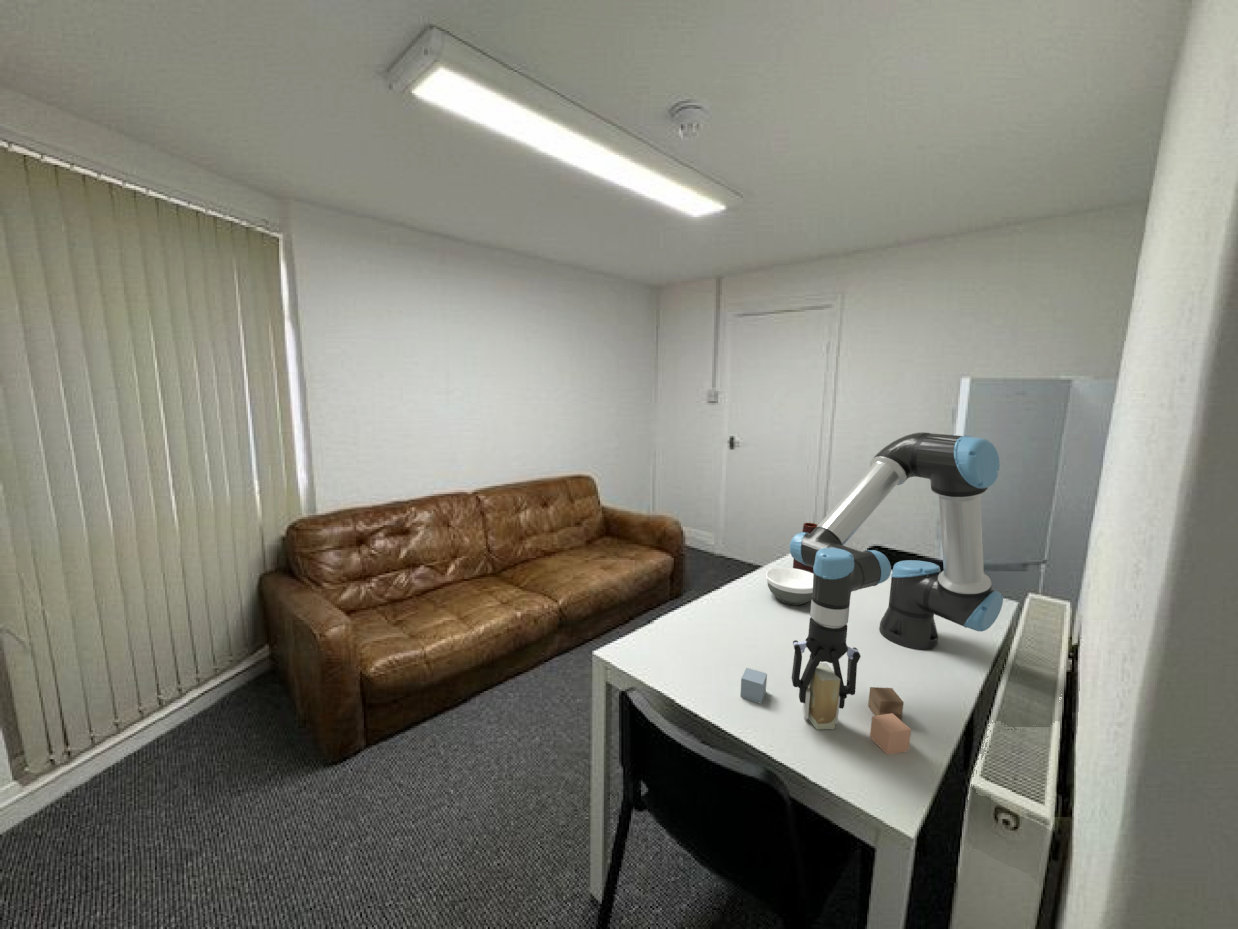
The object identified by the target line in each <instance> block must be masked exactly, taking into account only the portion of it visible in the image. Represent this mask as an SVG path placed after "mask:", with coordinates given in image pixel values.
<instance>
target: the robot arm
mask: <svg viewBox="0 0 1238 929" xmlns="http://www.w3.org/2000/svg"><path fill="white" fill-rule="evenodd" d="M998 471H1000V457H999V453H998V450H997V448H996V446H994V444H993V443H992V442H990V441H989V440H988V439H985V438H981V437H974V436H972V435H953V434H943V433H932V432H931V433H930V432H915V433H910V434H907V435H904V436H902V437H900V438H898V439H896V440H894V441H892V442H891V443H889V444H887V445H886V446H884V447H883V448H882V449H880V450H879V452H878V453H876V454H875V455H874V457H873V458H872V459H871V460H870V462H869V468H868V469H867V470H866V471H865V473H864V474H863V475H862V476H861V477H859V479H858V480H857V481H856V482H855V484H853V486H852V487H851V488H850V489H849V490H848V491H847V493H846V494H845V495H844V496H843V497H842V498H841V499H840V500H839V501H838V502H837V503H836V505H835V506H834V507H833V508H832V509H831V510H830V511H829V512H828V513H827V515H826V516H825V517H824V518H823V519H822V520H821V521H820V522H819V523H818V524H817V525H818V526H817V527H816V528H815V529H814V530H813V531H812V532H811V533H810V534H809V533H805V532H802V531H801V532H799V533H796V534H795V535H794V536H792V538H791V540H790V543H789V553H790V556H791V557H792V559H793V560H794V559H795V560H797V561H799V562H801V563H802V564H804V565H806V566H810V567H813V571H814V574H813V592H812V600H811V602H810V613H809V616H810V617H809V623H808V624H809V625H808V635H807V637H806V638H805V641H804V640H803V641H798V640H796V639H795V640H793V641H792V645H793V649H794V653H793V654H794V655H793V663H792V671H791V681H792V687H794V688H798V689H799V690H798V691H799V692H798V699H799V702H800V703H802V714H803V718H804V720H808V719H809V718H808V713H809V702H810V690H809V684H810V681H811V679H812V677H813V674H814V672H815V670H816V668H817V666H818V665H819V663H829V664H832V670H833V671H834V672H835V675H836V676H838V677H839V678H840V687H839V696H838V705H837V713H836V722H835V725H838V724H839V714H840V713H839V712H840V710H841V709H842V710H843V709H844V707H845V704H846V703H845V701H846V698H848V695H850V696H855V695H856V684H857V669H858V663H859V661H860V659H861V653H860V652H859V649H858V648H857V647H854V646H853V647H850V646H848V645H847V638H848V637H847V636H848V623H849V615H850V602H851V595H852V592H856V591H858V590H862V589H867V588H870V587H876V586H878V585H879V584H883V583H884V582H885V581H887V580H889V578H890V577H891V579H890V591H889V597H888V598H889V599H888V605H887V606H888V607H887V608H886V610H885V612H884V614H883V616H882V618H881V620H880V621H879V627H878V628H879V632H880V634H881V635H882V636H883V637H884V638H886V639H887V640H888V641H890V642H893V643H895V644H897V645H900V646H903V647H905V648H911V649H916V650H917V649H918V650H931V649H935V648H936V647H937V646H938V642H939V633H938V630H937V625H936V621H935V616H937V617H940V618H942V619H945V620H948V621H949V622H952V623H954V624H956V625H959V626H962V627H963V628H968V629H970V630H973V631H975V632H984V631H987V630H988V629H990V628H991V627H992V625H993V624H994V623H995V622H996V620H997V619H998V617H999V615H1000V613H1001V611H1002V607H1003V604H1004V596H1003V595H1002V593H1001V592H999V591H997V590H994V589H993V588H992V581H991V578H990V577H989V576H988V575H987V574H985V572H984V551H983V550H984V548H983V547H984V546H983V545H984V544H983V527H982V526H983V523H982V522H983V521H982V501H981V498H982V497H981V496H982V495H984V494H985V493H987V491H988V490H989V488H990V487H991V486H993V485H994V484H995V482H996V481H997V479H998V475H999V473H998ZM913 477H914V478H915V477H916V478H917V477H918V478H923V479H928V480H929V481H930V490H931V491H932V492H933V494H935V495H937V496H938V505H939V506H938V507H939V520H940V534H941V535H940V536H941V537H940V538H941V550H942V562H943V570H942V571H941V567H940V565H938V564H937V563H935V562H934V563H933V562H931V561H930V562H929V561H924V560H914V559H913V560H912V559H910V560H908V559H907V560H900V561H898V562H895V563H894V565H893V568H892V566H891V563H890V560H889V559H888V557H887V556H886V555H885V554H884V553H882V552H881V551H878V550H874V549H871V550H869V549H865V550H863V551H862V550H861V551H860V550H858V549H855V548H852V547H848V546H846V545H845V544H846V543H847V542H848V541H850V539H851V537H853V535H854V534H855V533H856V532H857V530H859V529H860V527H861V526H862V525H863V524H864V522H866V521H867V519H868V518H870V516H871V515H872V514H873V513H874V511H875V510H876V509H877V508H878V507H879V506H880V505H881V503H882V502H883V501H884V500H885V499H886V497H887V496H888V495H890V493H891V492H892V491H893V489H895V487H897V486H901V485H903V484H904V483H905V482H906V481H907V480H908V479H910V478H913ZM934 615H935V616H934ZM806 648H807V649H808V651H809V652H810V654H809V659H808V661H807V664H806V666H805V668H804V671H803V673H802V674H801V669H802V661H803V654H804V652H805V649H806ZM845 654H846V656H847V673H846V674H847V675H846V685H845V684H844V680H843V675H842V674H843V673H842V671H841V665H840V659H841V658H842V657H843V656H844V655H845Z"/></svg>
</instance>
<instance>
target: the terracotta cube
mask: <svg viewBox="0 0 1238 929" xmlns="http://www.w3.org/2000/svg"><path fill="white" fill-rule="evenodd" d="M911 733H912V728H910V727H909V726H907V724H905V723H904V722H903V721H902V720H900V719H899V718H897V717H896V716H895V715H894V714H893V713H891V714H884V715H877V716H874V715H872V716H871V725H870V733H869V738H870V739H871V740H872V741H873V742H874V743H875V744H876V745H877V746H878V747H879V748H880V749H881V750H882V751H883V752H884V753H885V754H886V755H887V756H888V755H892V754H898V753H904V752H905V753H906V752H909V749H910V742H911Z"/></svg>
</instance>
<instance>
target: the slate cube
mask: <svg viewBox="0 0 1238 929" xmlns="http://www.w3.org/2000/svg"><path fill="white" fill-rule="evenodd" d="M767 679H768V673H767V672H764V671H761V670H757V669H753V668H751V667H750V668H749V667H745V669H744V671H743V674H742V676H741V679H740V697H741V698H742V699H746V700H749V701H753V702H755V703H759V704H761V705H762V703H763V701H764V698H765V695H766V693H767V683H768V682H767Z"/></svg>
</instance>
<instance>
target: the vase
mask: <svg viewBox="0 0 1238 929" xmlns="http://www.w3.org/2000/svg"><path fill="white" fill-rule="evenodd" d="M818 525H819V524H817V523H814V522H804V523H803V524H802V530H801V532H805V533H809V534H810V533H811V532H812V531H813V530H814V529H815V528H816V527H817V526H818ZM792 568H795V569H800V570H804V571H808V572H810V573H813V574H814V571H813V567H810V566H806V565H804V564H802V563H801V562H799V561H797V560H795V559H794V558H793V559H792Z"/></svg>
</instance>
